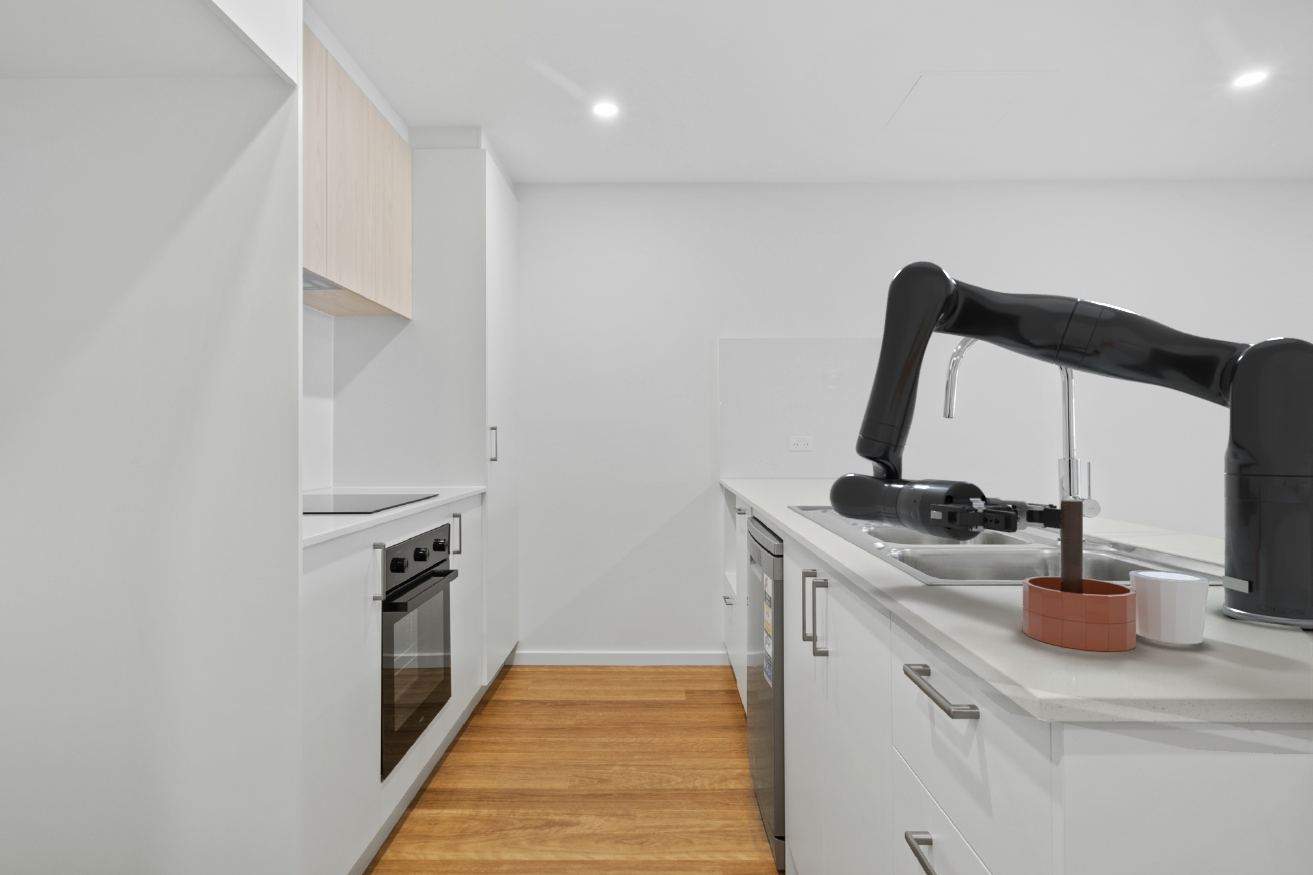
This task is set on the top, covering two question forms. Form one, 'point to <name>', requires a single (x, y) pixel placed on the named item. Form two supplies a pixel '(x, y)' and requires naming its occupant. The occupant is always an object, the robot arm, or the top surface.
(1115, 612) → the bowl
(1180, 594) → the white cylinder
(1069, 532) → the brown wooden pestle
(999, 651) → the top surface
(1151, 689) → the top surface
